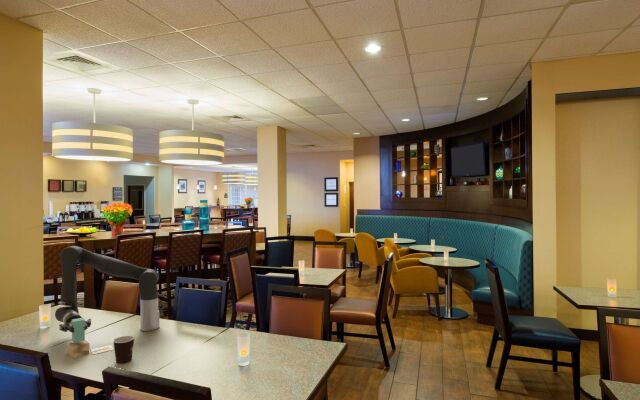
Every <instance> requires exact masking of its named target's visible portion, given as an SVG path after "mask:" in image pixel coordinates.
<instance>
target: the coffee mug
mask: <svg viewBox="0 0 640 400" xmlns="http://www.w3.org/2000/svg"><path fill="white" fill-rule="evenodd" d="M112 342H113V348H114V350H113V351H114V356H115V357H114V358H115V363H116V364H118V365H124V364H127V363H128V364H129V363H130V362H131V361H133V352H134V344H135V336H133V335H123V336H118V337H116V338H114V339H113V340H112Z"/></svg>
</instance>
